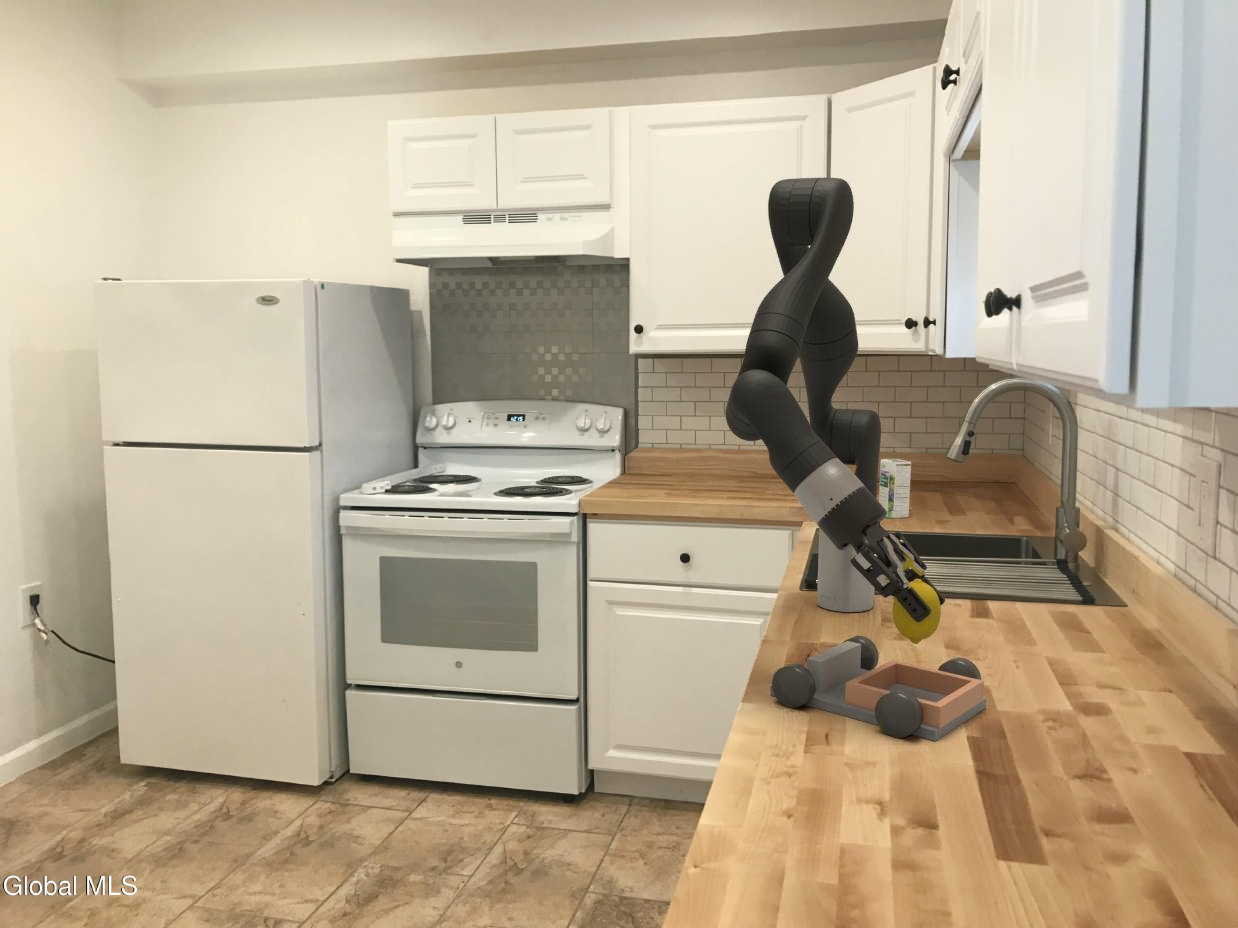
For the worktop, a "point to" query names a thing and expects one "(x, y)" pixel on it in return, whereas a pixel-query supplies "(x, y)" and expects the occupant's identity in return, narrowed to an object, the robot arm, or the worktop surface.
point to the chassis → (884, 690)
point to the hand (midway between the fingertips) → (932, 611)
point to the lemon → (908, 624)
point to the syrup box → (895, 487)
